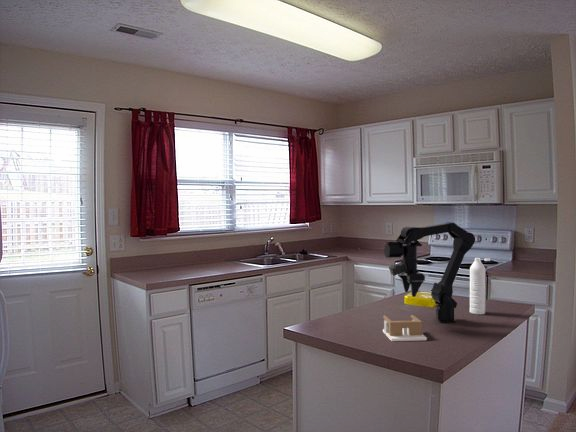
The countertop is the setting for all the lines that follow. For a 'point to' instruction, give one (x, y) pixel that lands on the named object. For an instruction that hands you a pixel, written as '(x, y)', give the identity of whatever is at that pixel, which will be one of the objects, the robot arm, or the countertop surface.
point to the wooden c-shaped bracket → (397, 326)
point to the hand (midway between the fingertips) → (409, 294)
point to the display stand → (405, 334)
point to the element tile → (420, 299)
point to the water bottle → (477, 287)
